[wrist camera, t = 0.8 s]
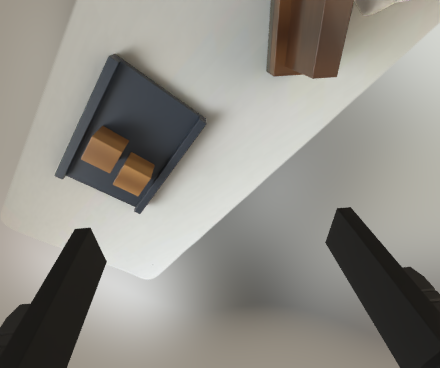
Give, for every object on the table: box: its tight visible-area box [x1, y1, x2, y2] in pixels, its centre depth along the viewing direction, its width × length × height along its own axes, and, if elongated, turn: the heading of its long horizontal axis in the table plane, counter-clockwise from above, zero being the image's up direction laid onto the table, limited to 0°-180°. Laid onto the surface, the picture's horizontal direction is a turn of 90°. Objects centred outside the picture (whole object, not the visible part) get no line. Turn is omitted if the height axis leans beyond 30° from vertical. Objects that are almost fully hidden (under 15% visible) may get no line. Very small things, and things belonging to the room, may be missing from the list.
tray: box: [55, 54, 206, 214], centre depth 35 cm, size 20×14×2 cm
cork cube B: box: [113, 152, 155, 196], centre depth 35 cm, size 4×4×4 cm
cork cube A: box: [81, 126, 129, 173], centre depth 32 cm, size 4×4×4 cm
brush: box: [267, 0, 354, 79], centre depth 24 cm, size 10×5×12 cm, turn 2°
